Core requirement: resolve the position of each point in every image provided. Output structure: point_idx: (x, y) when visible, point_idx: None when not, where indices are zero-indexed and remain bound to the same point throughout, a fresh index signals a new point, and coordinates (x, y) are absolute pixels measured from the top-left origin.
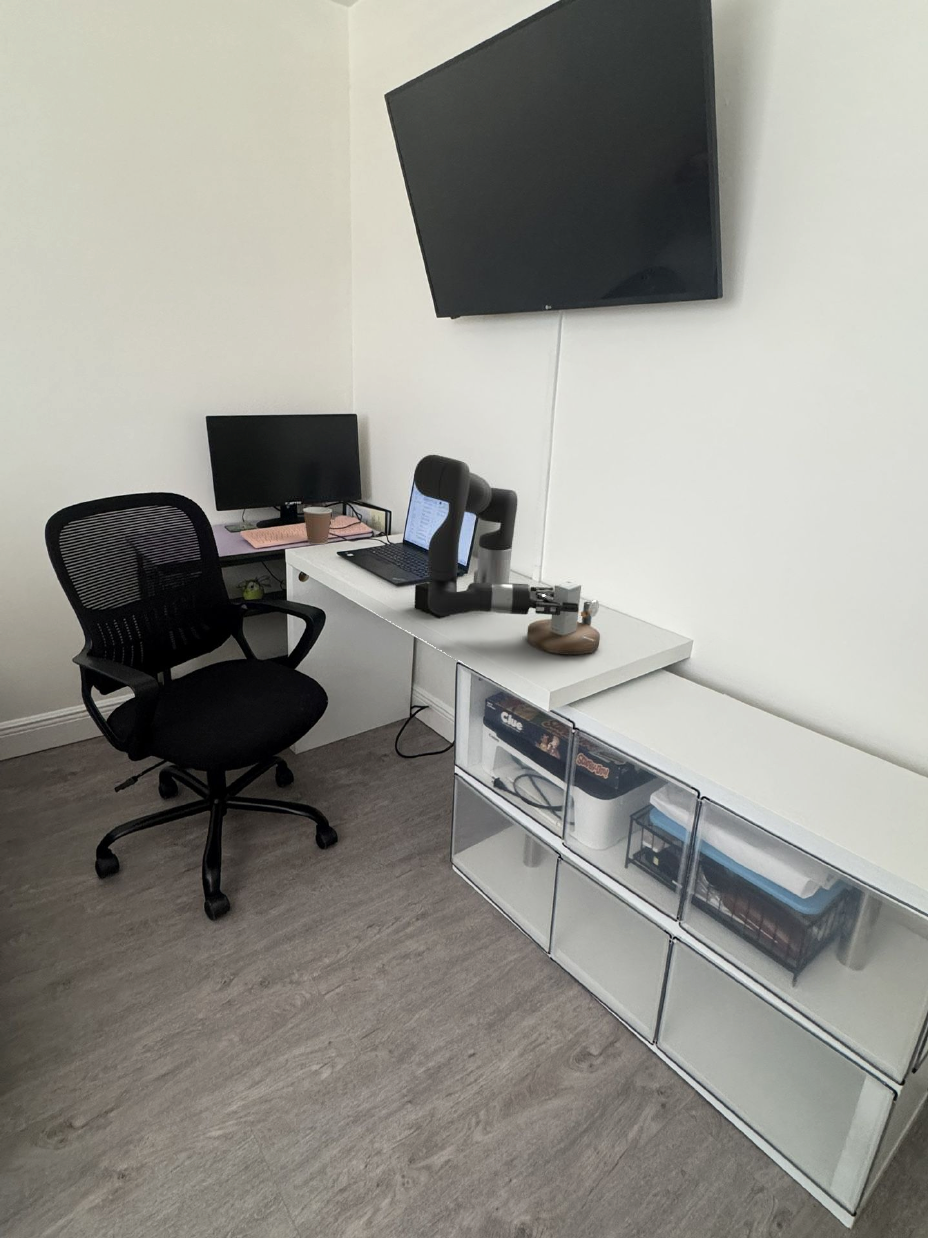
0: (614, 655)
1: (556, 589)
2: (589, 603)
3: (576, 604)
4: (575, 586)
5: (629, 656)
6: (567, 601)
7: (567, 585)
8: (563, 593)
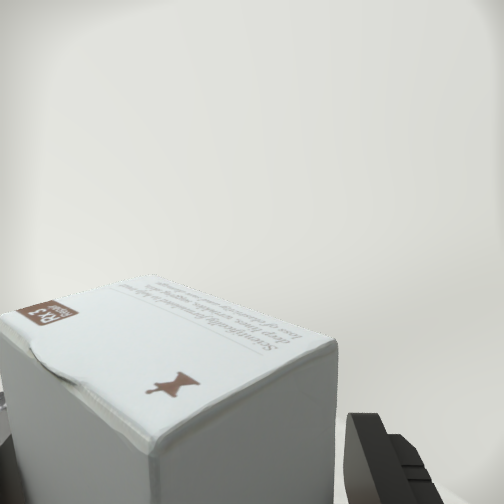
0: (344, 493)
1: (199, 483)
2: (5, 405)
3: (376, 424)
4: (209, 295)
5: (336, 447)
6: (331, 478)
7: (191, 326)
8: (295, 438)
